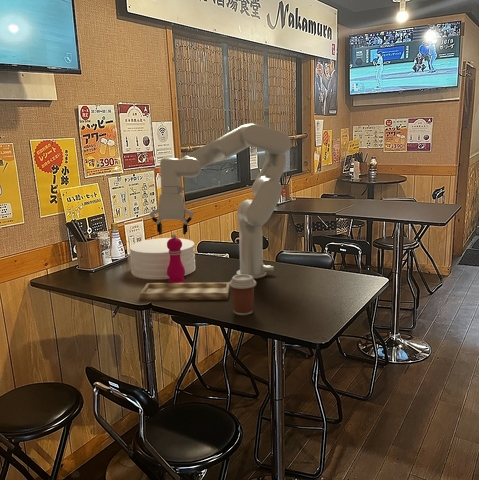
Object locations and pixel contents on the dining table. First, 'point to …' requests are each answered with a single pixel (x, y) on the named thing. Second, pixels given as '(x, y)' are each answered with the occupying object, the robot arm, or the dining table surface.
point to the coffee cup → (242, 293)
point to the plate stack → (159, 258)
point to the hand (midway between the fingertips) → (172, 233)
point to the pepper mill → (175, 261)
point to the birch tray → (185, 291)
